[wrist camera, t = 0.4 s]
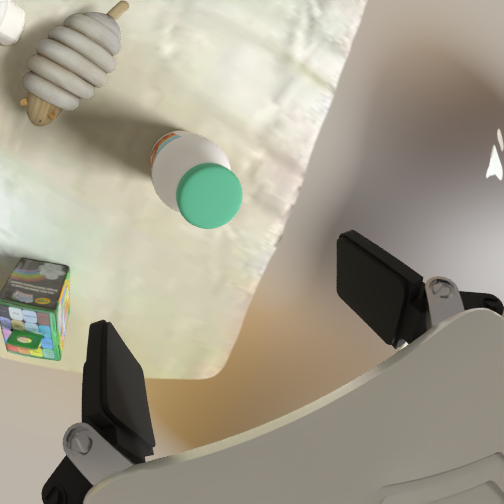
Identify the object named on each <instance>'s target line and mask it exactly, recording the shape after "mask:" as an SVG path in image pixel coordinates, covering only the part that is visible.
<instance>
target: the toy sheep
mask: <svg viewBox="0 0 504 504" xmlns="http://www.w3.org/2000/svg"><path fill="white" fill-rule="evenodd" d="M128 8H129V4H128V3H127V2H126V1H120V2H119V3H118V4H116V5H115V6H114V7H113V8H112V9H111V10H110V11H109V12H108V13H107V14H103V13H98V12H90V13H85V14H73V15H71V16H69V17H68V18H67V19H66V20H65V22H64V26H56V27H54V28H52V29H51V31H50V32H49V34H48V37H49V38H48V39H47V38H46V39H42V40H40V41H39V42H38V44H37V46H36V51H37V54H35V55H33V56H31V57H30V58H29V60H28V62H27V67H28V68H29V69H30V70H31V71H30V72H28V73H27V74H26V75H25V76H24V78H23V81H22V82H23V86H24V88H25V89H27V90H28V91H29V93H28V97H27V98H24V99H22V100H21V101H20V105H21V106H26V105H27V114H28V117H29V119H30V121H31V122H32V123H33V124H34V125H36V126H44V125H46V124H48V123H50V122H51V121H52V120H54V119H55V118H56V117H57V115H58V114H59V113H60V111H61V110H62V109H64V110H67V111H72V110H74V109H76V108H77V107H78V105H79V103H80V98H82V99H85V100H87V99H90V98H91V97H92V96H93V95H94V87H98V88H100V87H103V86H105V85H106V83H107V81H108V76H107V73H110V72H112V71H113V70H114V69H115V67H116V62H115V60H114V58H113V57H112V56H113V55H115V54H117V53H118V52H119V50H120V48H121V43H120V40H121V32H120V29H119V26H118V24H117V23H116V21H115V20H116V19H117V18H118V17H119V16H120V15H122V14H123V13H124V12H125V11H126V10H127V9H128Z"/></svg>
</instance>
